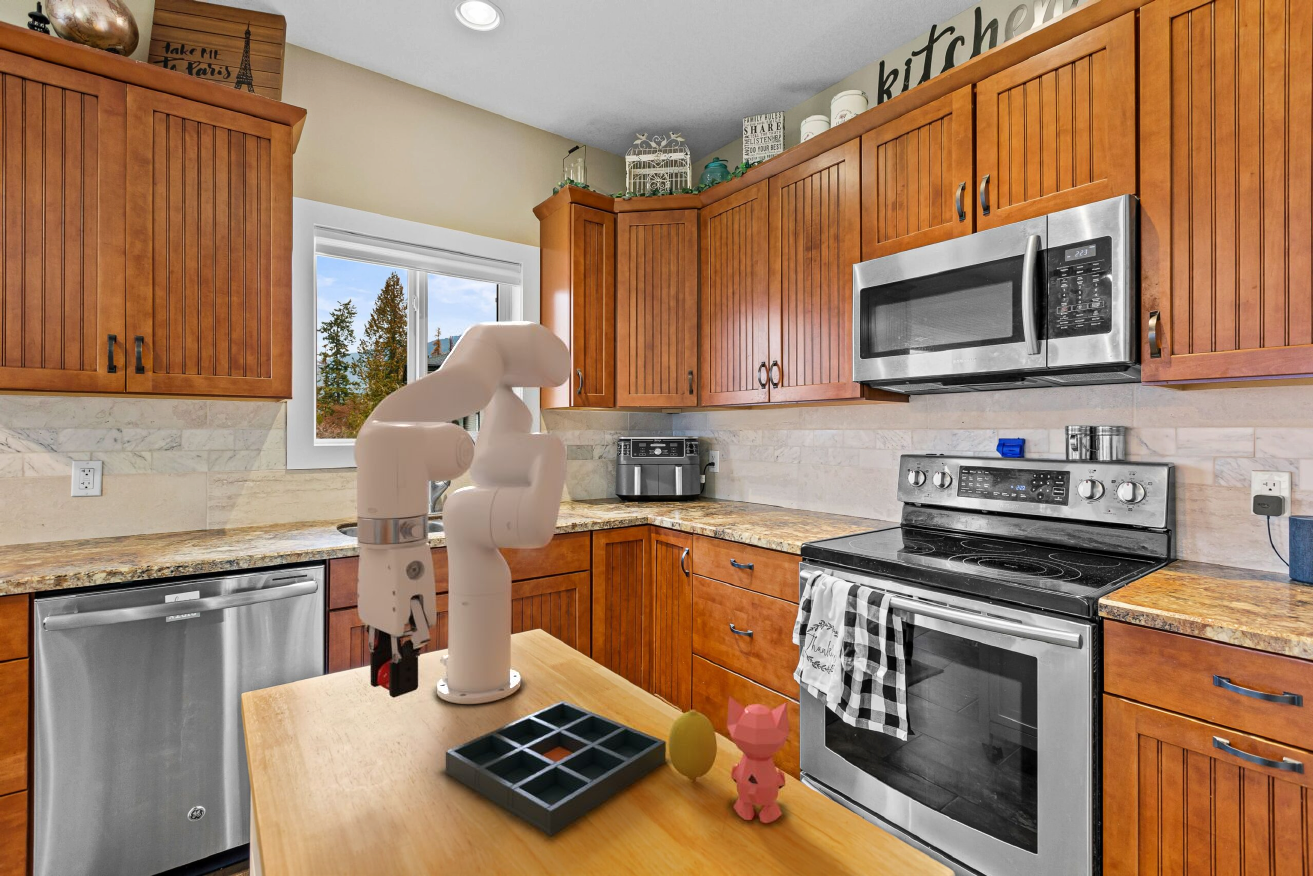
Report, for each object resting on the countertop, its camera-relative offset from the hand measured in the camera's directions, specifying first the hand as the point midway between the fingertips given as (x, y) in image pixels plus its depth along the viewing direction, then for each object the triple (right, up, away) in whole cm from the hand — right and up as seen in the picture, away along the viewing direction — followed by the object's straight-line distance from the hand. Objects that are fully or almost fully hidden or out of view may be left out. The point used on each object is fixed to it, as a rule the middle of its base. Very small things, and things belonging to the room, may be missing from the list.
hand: (394, 686), depth 71 cm
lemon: (+35, -11, -1) cm, 36 cm away
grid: (+19, -10, +2) cm, 21 cm away
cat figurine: (+41, -11, -7) cm, 43 cm away
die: (0, 0, 0) cm, 0 cm away
